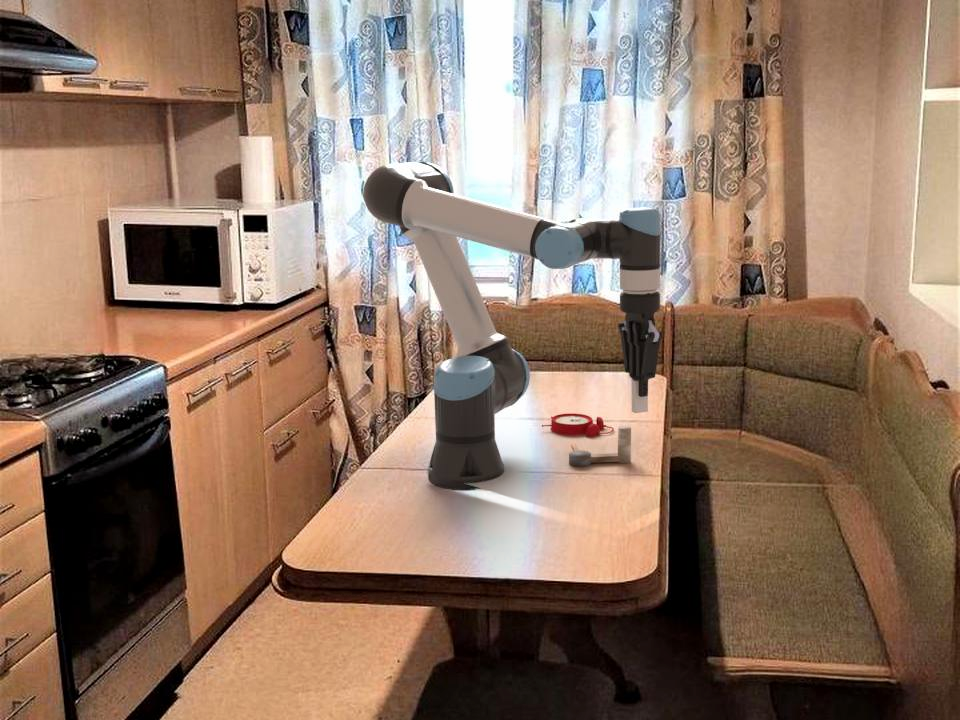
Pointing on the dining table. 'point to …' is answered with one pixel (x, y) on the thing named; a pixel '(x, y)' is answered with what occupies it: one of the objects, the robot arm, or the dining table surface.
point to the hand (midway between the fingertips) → (639, 411)
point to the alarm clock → (577, 425)
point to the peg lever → (586, 458)
